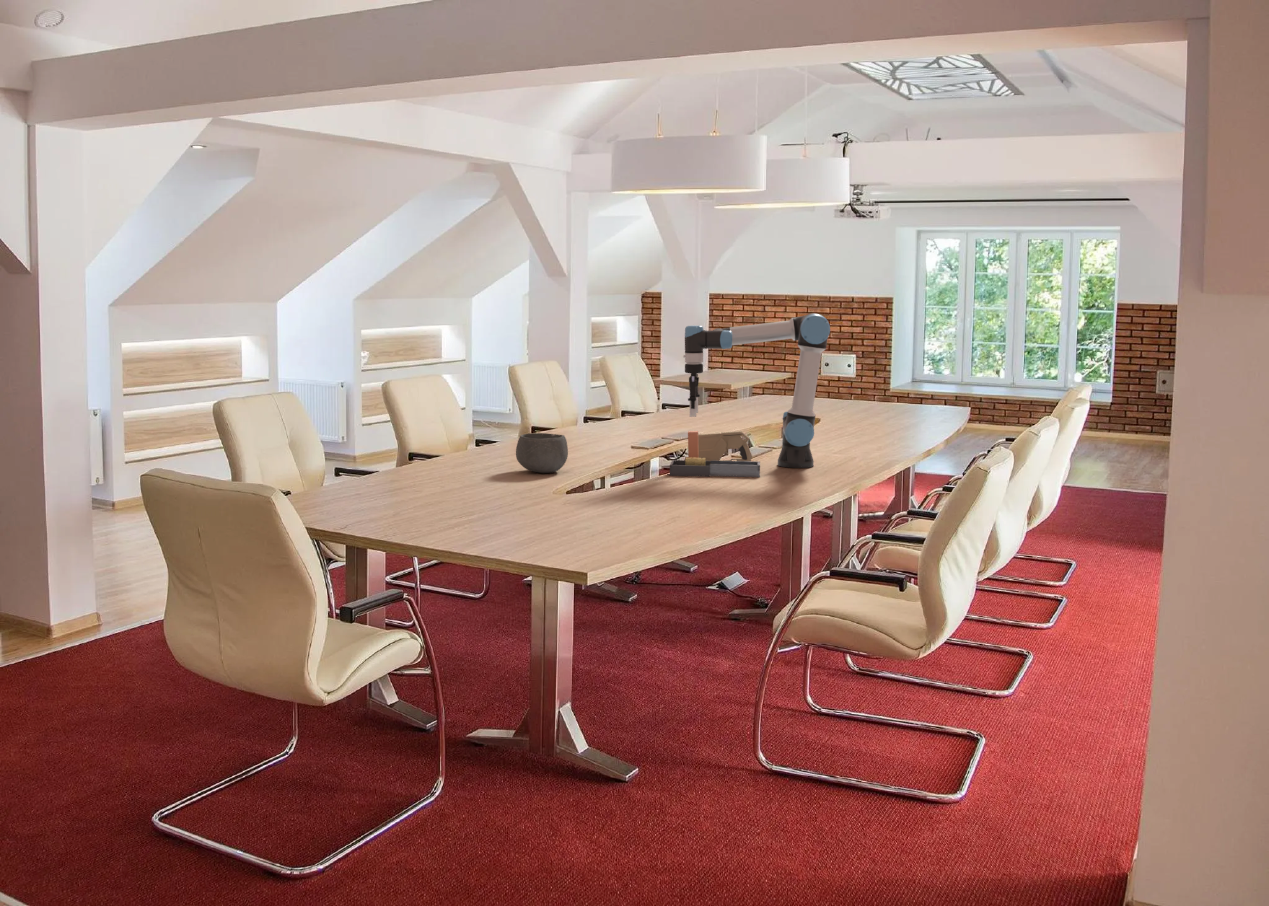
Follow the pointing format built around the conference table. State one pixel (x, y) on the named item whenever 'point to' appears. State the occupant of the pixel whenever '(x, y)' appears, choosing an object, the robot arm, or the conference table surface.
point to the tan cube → (700, 461)
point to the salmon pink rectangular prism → (693, 444)
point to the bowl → (542, 452)
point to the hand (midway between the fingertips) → (693, 414)
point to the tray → (689, 469)
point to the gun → (723, 445)
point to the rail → (735, 468)
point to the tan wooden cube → (690, 461)
